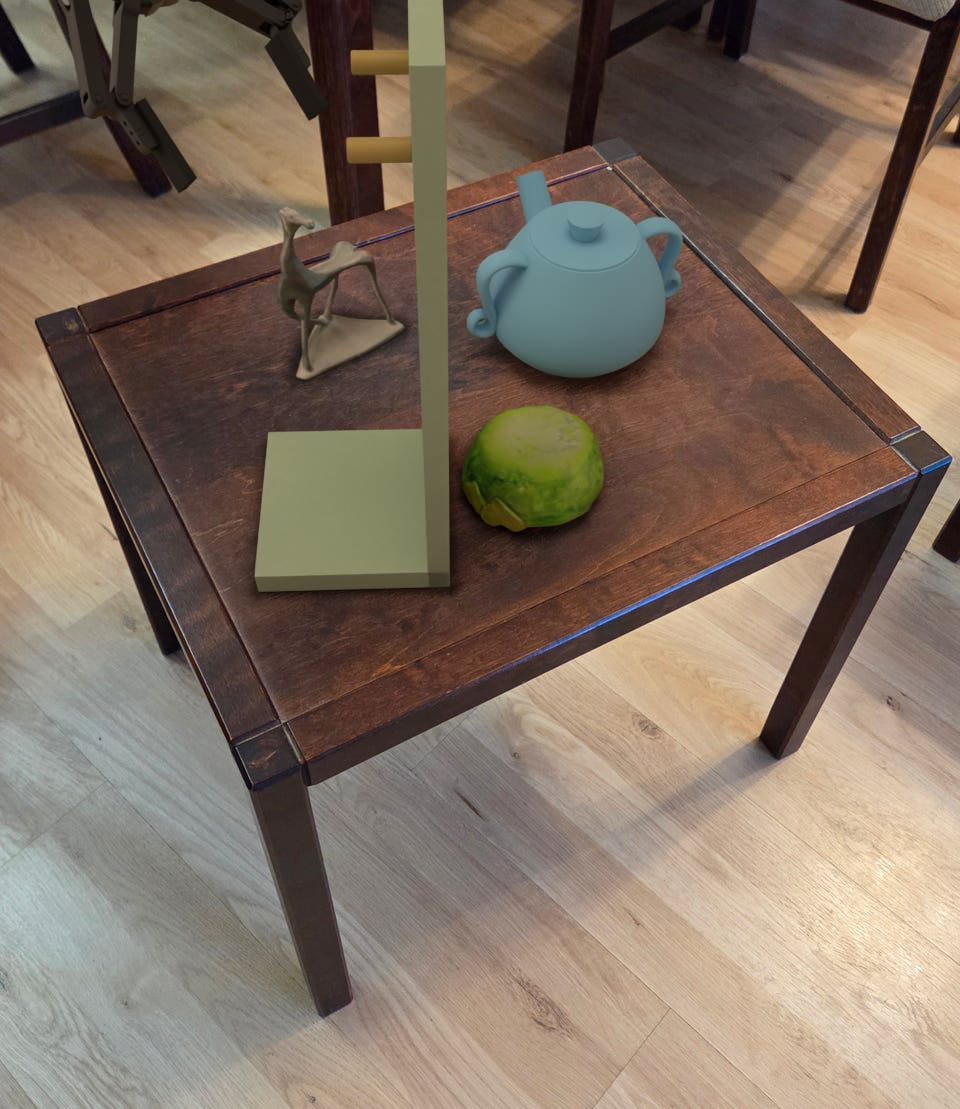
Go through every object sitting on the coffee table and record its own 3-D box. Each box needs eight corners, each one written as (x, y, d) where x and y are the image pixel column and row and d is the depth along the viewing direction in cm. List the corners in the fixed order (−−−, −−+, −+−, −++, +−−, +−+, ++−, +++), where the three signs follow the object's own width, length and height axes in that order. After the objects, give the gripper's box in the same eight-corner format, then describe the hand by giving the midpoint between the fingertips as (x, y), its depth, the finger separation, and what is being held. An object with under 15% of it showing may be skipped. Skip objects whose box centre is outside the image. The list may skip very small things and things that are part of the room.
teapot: (497, 420, 88) (503, 301, 77) (424, 270, 98) (420, 149, 88) (710, 367, 92) (743, 247, 81) (617, 229, 103) (635, 109, 92)
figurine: (374, 293, 96) (362, 146, 84) (410, 334, 93) (403, 188, 81) (266, 337, 93) (237, 190, 81) (300, 382, 90) (276, 235, 78)
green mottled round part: (563, 559, 79) (569, 518, 75) (438, 503, 82) (438, 460, 78) (625, 459, 85) (634, 417, 81) (507, 410, 88) (510, 367, 84)
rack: (258, 592, 77) (115, 67, 45) (271, 448, 85) (159, -84, 53) (449, 587, 78) (445, 65, 45) (444, 444, 86) (438, -84, 53)
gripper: (206, -140, 86) (349, 103, 93) (-69, -34, 75) (115, 233, 82) (238, -197, 80) (388, 67, 86) (-58, -91, 69) (140, 204, 75)
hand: (256, 148), depth 84 cm, fingers open, 13 cm apart
